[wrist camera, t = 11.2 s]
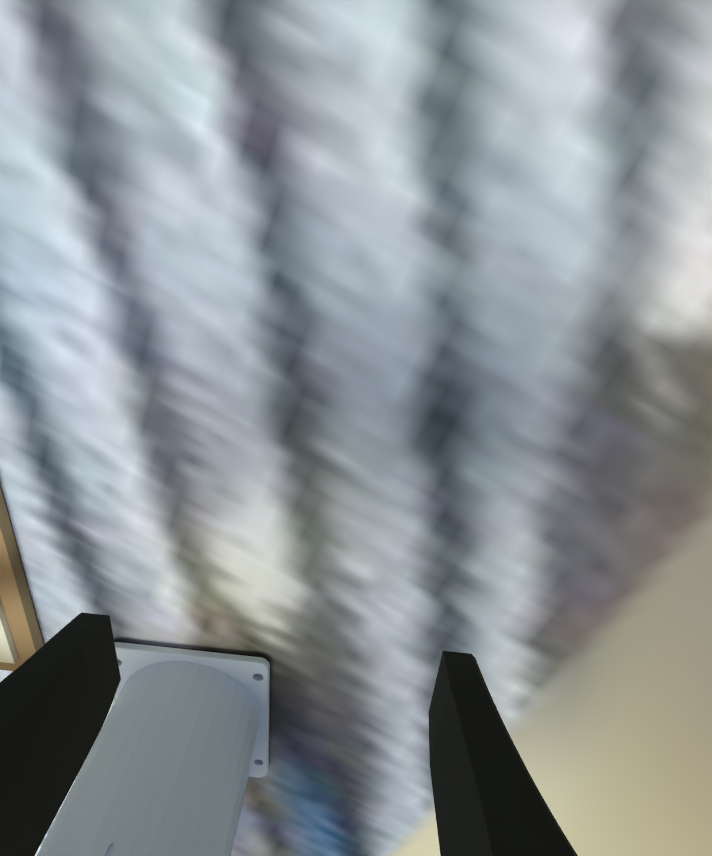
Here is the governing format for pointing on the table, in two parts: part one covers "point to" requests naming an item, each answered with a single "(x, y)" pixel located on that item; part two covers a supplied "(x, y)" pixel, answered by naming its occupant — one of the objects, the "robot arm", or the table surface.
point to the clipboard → (14, 602)
